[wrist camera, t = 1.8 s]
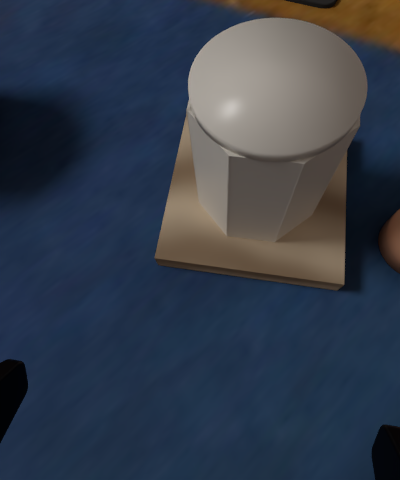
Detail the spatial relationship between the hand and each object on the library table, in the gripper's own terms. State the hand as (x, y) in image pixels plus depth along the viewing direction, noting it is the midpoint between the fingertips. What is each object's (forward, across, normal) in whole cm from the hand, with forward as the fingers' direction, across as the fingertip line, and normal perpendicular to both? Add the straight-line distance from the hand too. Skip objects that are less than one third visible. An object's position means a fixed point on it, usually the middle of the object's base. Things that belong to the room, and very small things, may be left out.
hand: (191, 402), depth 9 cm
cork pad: (+19, -1, 0) cm, 19 cm away
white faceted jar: (+18, -1, -1) cm, 18 cm away
